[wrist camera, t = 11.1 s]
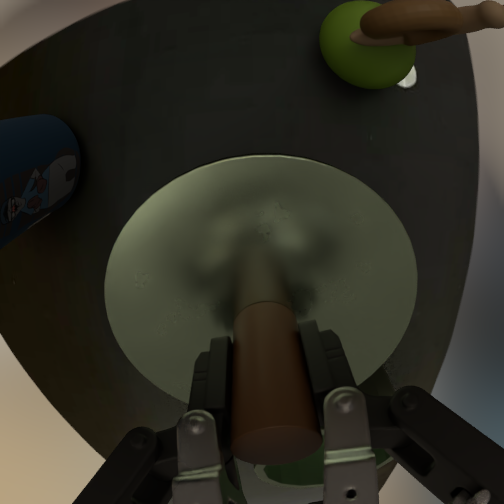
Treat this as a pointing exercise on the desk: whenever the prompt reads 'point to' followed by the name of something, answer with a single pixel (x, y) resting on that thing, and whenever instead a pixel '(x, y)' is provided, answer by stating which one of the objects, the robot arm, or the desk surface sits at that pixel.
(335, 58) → the snail figurine
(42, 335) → the desk surface
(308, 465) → the pot
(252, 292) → the pot lid
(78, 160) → the soda can
